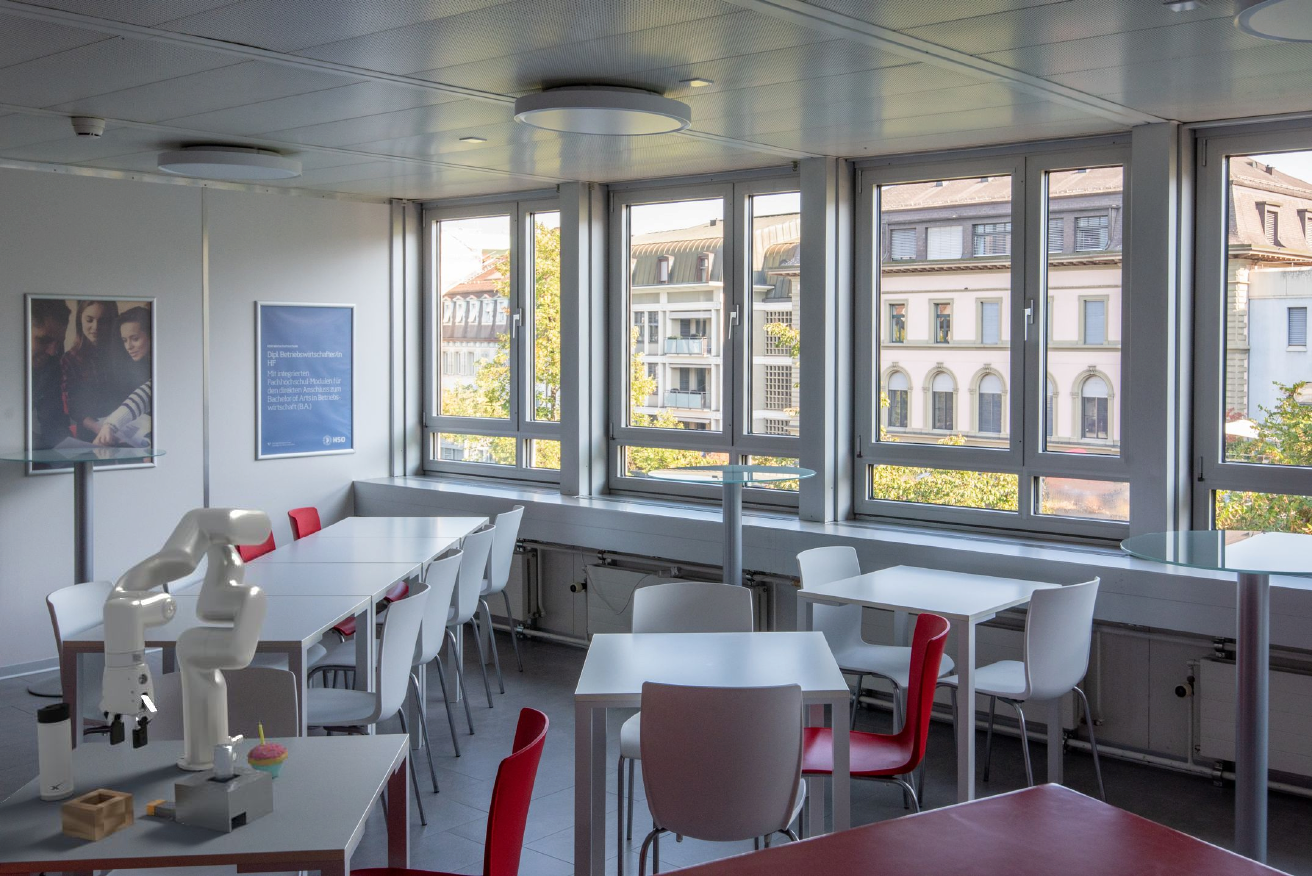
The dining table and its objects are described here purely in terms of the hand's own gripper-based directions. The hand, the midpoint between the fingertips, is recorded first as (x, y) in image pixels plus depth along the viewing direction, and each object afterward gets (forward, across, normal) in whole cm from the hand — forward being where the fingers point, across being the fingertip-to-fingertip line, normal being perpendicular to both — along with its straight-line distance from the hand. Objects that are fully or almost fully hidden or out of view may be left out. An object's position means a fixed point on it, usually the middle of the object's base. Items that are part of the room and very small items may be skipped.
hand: (128, 744), depth 231 cm
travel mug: (+14, +21, 0) cm, 25 cm away
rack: (+14, -3, +10) cm, 17 cm away
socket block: (+14, -22, -4) cm, 26 cm away
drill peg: (+10, -22, -4) cm, 24 cm away
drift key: (+13, -14, 0) cm, 20 cm away
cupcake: (+14, -13, -26) cm, 32 cm away
